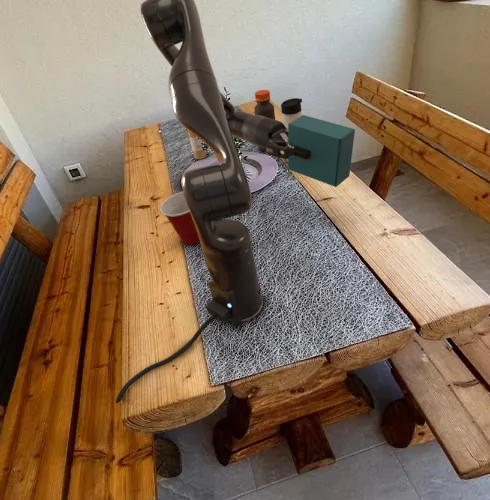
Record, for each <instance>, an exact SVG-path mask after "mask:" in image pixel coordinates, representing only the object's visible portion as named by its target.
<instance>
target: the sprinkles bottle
mask: <svg viewBox="0 0 490 500" xmlns="http://www.w3.org/2000/svg"><path fill="white" fill-rule="evenodd" d="M187 134H188V139H189V141H190V146H191V149H192V152H193V157H194V159H195V160H203V159H204V158H206V157H207V153H206V149H205V150H203V149H202V144H201V143H203V144H204V142H203V141H202V140H200V139H198V137H196V136H195V135H194V134H192V133H191V132H190V131H189V130H187Z"/></svg>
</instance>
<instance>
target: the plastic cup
mask: <svg viewBox="0 0 490 500" xmlns="http://www.w3.org/2000/svg"><path fill="white" fill-rule="evenodd" d="M159 210H160V213H161V214H162V215H163V216H165V217H166V218H167V220H168V221H169V223H170V224H171V226H172V227H173V230H174V231H175V233H176V234H177V235H178V237H179V239H180V240H181V242H182V243H183V244H185V245H188V246H190V245H191V246H193V245H195V244H196V245H197V244H198V243H200V240H199V236H198V233H197V230H196V227H195V224H194V222H193V219H192V216H191V214H190V211H189V209H188V206H187V203H186V200H185V197H184V193H183V191H180V192H177V193H174V194H172V195H170V196H168V197H167V198H166V199H165V200H164V201H163V202H162V203H161V205H160V206H159Z"/></svg>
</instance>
